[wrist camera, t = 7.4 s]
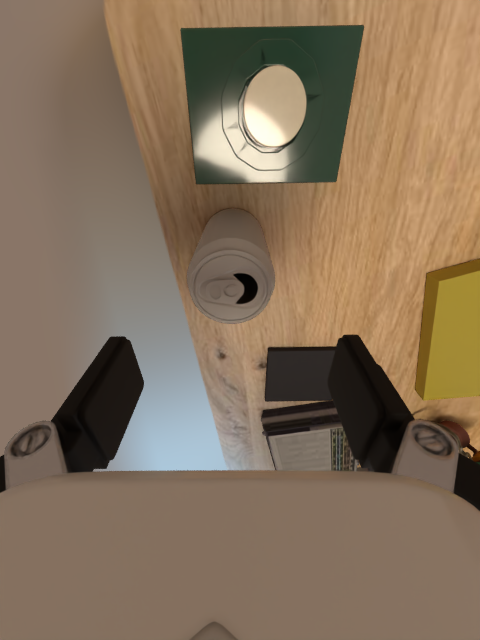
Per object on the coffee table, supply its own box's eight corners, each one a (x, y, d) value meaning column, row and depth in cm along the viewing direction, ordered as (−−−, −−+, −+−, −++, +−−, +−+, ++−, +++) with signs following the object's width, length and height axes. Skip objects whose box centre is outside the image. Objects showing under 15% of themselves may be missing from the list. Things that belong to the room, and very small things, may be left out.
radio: (261, 440, 39) (394, 422, 37) (259, 411, 44) (377, 394, 42) (281, 501, 53) (379, 491, 51) (277, 474, 57) (367, 464, 55)
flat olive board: (426, 273, 29) (414, 398, 42) (439, 281, 27) (422, 409, 40) (546, 240, 27) (494, 382, 40) (568, 246, 25) (506, 393, 38)
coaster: (264, 397, 42) (265, 401, 41) (267, 347, 36) (268, 351, 35) (330, 396, 42) (331, 400, 41) (345, 346, 36) (347, 350, 35)
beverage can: (263, 264, 29) (278, 325, 19) (208, 268, 29) (193, 331, 19) (262, 204, 25) (279, 240, 15) (198, 209, 25) (173, 248, 15)
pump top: (242, 148, 19) (243, 147, 17) (242, 73, 16) (243, 65, 15) (296, 147, 19) (302, 147, 17) (303, 72, 16) (311, 64, 15)
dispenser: (200, 180, 24) (192, 187, 20) (187, 43, 19) (173, 13, 15) (326, 178, 24) (344, 185, 20) (348, 41, 19) (379, 10, 15)
